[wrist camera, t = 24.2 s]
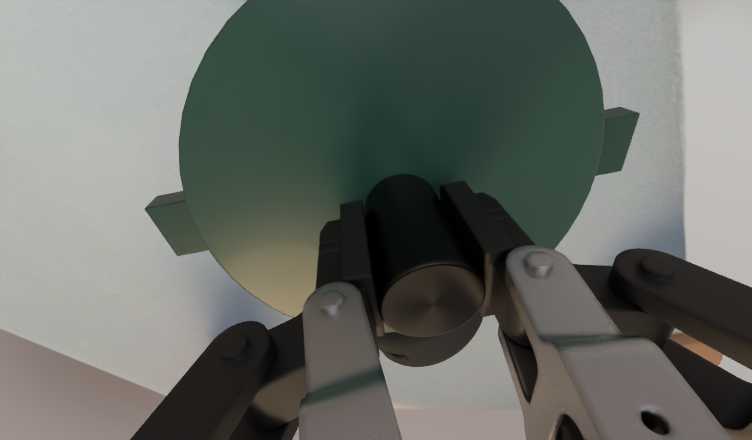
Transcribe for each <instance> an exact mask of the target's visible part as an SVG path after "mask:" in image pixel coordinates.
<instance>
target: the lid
mask: <svg viewBox="0 0 752 440" xmlns="http://www.w3.org/2000/svg"><path fill="white" fill-rule="evenodd" d="M604 118H605V117H604V104H603V92H602V87H601V82H600V78H599V74H598V70H597V66H596V62H595V60H594V57H593V55H592V53H591V50H590V48H589V46H588V43H587V41H586V38H585V36H584V34H583V33H582V31H581V30H580V28H579V27H578V25H577V24H576V22H575V20H574V19H573V17H572V16H571V14H570V13H569V11H568V10H567V8H566V7H565V6H564V5H563V4H562V3H561V2H560V1H559V0H247V1H246V2H245V3H244V4H243V5H242V6H241V7H240V8H239V9H238V10H237V11H236V12H235V13H234V14H233V15H232V16H231V17H230V18H229V19H228V21H227V22H226V23H225V25H224V26H223V28H222V29H221V30H220V32H219V33H218V35H217V36H216V37H215V39H214V40H213V42H212V43H211V45H210V46H209V47H208V49H207V50H206V52H205V54H204V57H203V59H202V61H201V63H200V65H199V67H198V69H197V71H196V73H195V75H194V77H193V79H192V82H191V85H190V88H189V92H188V95H187V99H186V102H185V105H184V109H183V112H182V120H181V128H180V136H179V165H180V176H181V181H182V186H183V191H184V197H185V200H186V203H187V206H188V209H189V212H190V214H191V217H192V220H193V223H194V225H195V227H196V228H197V230H198V232H199V234H200V236H201V238H202V240H203V242H204V244H205V245H206V247H207V248H208V249H209V251H210V252H211V254H212V255H213V256H214V258H215V259H216V261H217V262H218V263H219V264H220V265H221V267H222V268H223V269H224V270H225V271H226V272H227V273H228V274H229V275H230V276H231V277H232V278H233V279H234V280H235V281H236V282H237V283H238V284H239V285H241V286H242V287H243V288H244V289H245V290H246V291H248V292H249V293H250V294H252V295H253V296H255V297H256V298H258V299H259V300H261V301H262V302H264V303H265V304H267V305H269V306H270V307H272V308H274V309H276V310H278V311H280V312H282V313H284V314H286V315H288V316H291V317H293V318H294V317H296V316H297V315H299V314H300V313H301V312H302V311H303V306H304V303H305V301H306V300H307V298H308V297H309V296H310V295H311V293H313V292H314V291H315V288H316V276H317V264H318V255H319V245H320V244H319V240H320V232H321V230H322V229H323V227H324V226H325V224H326V223H327V222H328V221H333V220H338V219H340V204H343V203H348V202H353V201H358V200H362V202H363V207H364V211H365V216H366V222H367V229H368V236H369V244H370V251H371V258H372V265H373V272H374V280H375V287H376V294H377V301H378V311H379V314H380V316H381V318H382V320H383V323H384V330H385V333H386V332H398V333H400V334H403V335H407V336H413V337H430V336H436V335H440V334H444V333H447V332H450V331H452V330H454V329H456V328H458V327H460V326H462V325H464V324H465V323H466V322H468V321H469V320H470V319H471V318H473V317H474V316H475V315H476V313H477V312H478V311H479V309H480V308H481V306H482V304H483V302H484V299H485V294H486V286H485V282H484V279H483V277H482V275H481V273H480V272H479V270H478V268H477V266H476V264H475V263H474V261H473V259H472V257H471V255H470V254H469V252H468V250H467V248H466V246H465V245H464V243H463V241H462V239H461V237H460V236H459V234H458V232H457V230H456V228H455V227H454V225H453V223H452V221H451V219H450V218H449V216H448V214H447V212H446V210H445V209H444V207H443V205H442V203H441V201H440V186H441V185H442V184H448V183H453V182H458V181H465V182H466V183H467V185H468V186H469V187H470V188H471V190H472V191H473V192H474V194H475V193H480V192H483V193H485V194H487V195H489V196H491V197H493V198H495V199H496V200H497V201H498V202H499V203H500V204H501V205H502V207H503V208H504V210H506V211H507V212H508V213H509V215H510V216H511V218H513V219H514V220H515V221H516V223H517V224H518V225H519V226H520V227H521V228H522V230H523V231H524V232H525V233H526V234H527V235H528V236H529V238H530V239H531V240H532V241H533V242H534V243H535V244H536V245H537V246H544V247H548V248H551V249H555V248H556V247H557V245H558V244H559V243H560V241H561V240H562V239H563V237H564V236H565V235H566V234H567V232H568V231H569V229H570V227H571V226H572V224H573V223H574V221H575V219H576V218H577V216H578V215H579V213H580V211H581V209H582V207H583V205H584V203H585V200H586V198H587V196H588V194H589V192H590V189H591V186H592V183H593V181H594V178H595V175H596V172H597V169H598V164H599V159H600V155H601V150H602V145H603V133H604Z"/></svg>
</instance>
